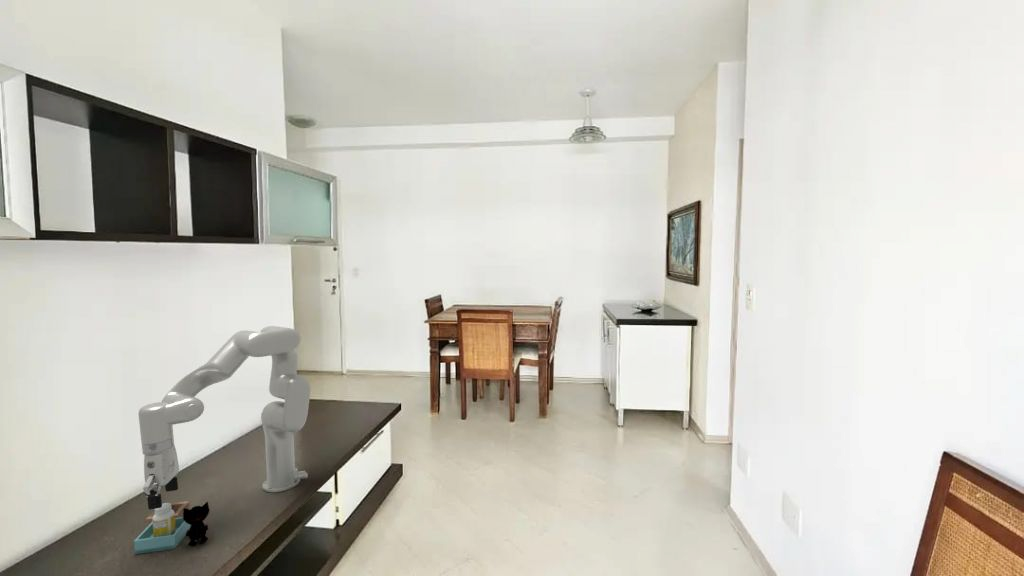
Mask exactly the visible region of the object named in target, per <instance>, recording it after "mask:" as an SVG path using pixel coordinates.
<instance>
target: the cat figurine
mask: <svg viewBox="0 0 1024 576" xmlns="http://www.w3.org/2000/svg"><path fill="white" fill-rule="evenodd" d="M209 506H210V505H209V502H208V501H206V502H205V503H204V504H203V505H202V506H201V505H195V506H193V507H191V508H190V510H189V509H185V508H184V509H183V519H184V521H185V522H186V523H188V524H190V525H191V526H190V529H189V530H187V531H186V535H185V537H188V539H189V542H188V544H187V546H188V547H196V546H197V545H198V543H199V545H204V544H205V543H206V542H207V541H208V539H209V538H208V536H206V535H207V531H208V530H209V529H210V528H209V527H210V526H209V525H208V524H205V523H204V521H205V520H206V519H207V517H208V515H209V514H210V507H209ZM197 541H199V542H197Z"/></svg>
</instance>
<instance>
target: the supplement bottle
mask: <svg viewBox="0 0 1024 576" xmlns="http://www.w3.org/2000/svg"><path fill="white" fill-rule="evenodd" d="M171 508H172V507H171V503H170V502H164V503H163V502H162V507H161V508H156V509H154V510H155V515H154V516H153V518H152V523H153V537H160V536H168V535H173V534H174V533H175V532H176V531H175V513H174V511H173V510H172V509H171Z"/></svg>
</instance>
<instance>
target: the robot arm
mask: <svg viewBox="0 0 1024 576" xmlns="http://www.w3.org/2000/svg"><path fill="white" fill-rule="evenodd" d="M300 343H301V335H300V333H299V332H298V331H297V330H296V329H293V328H290V327H284V326H276V325H274V326H273V325H272V326H271V325H269V326H266V327H264V328H262V329H260V331H253V330H239V331H237V332H235V333H234V334H233V335H231V337H230V338H229V339H228V340H227V341H226V342H225V343H224V344H223V345H222V346H221V347H220V348H219V349H218V351H216V353H215V354H213V356H212V357H211V358H210V359H208V361H207V362H206V363H204V364H203V365H201V366H199V367H198V368H196V369H194V370H193V371H191V372H190V373H189V374H187V375H185V376H184V377H183V378H181V379H180V380H179V381H178V382H177V383H176V384H175V385H174V386H173V387H172V388H171V389H170V390H169V391H168V392H167V393H166V395H165V396H164V397H163V398H162V400H161V401H160V402H152V403H149V404H146V405H144V406H142V407H140V408H139V410H138V412H137V413H138V423H139V431H140V432H139V433H140V442H141V450H142V455H144V456H143V458H144V459H143V473H144V474H143V475H144V477H143V478H144V485H143V487H142V490H143V492H144V495H145V497H146V498H147V506H148V510H155V509H156V508H161V507H162V504H163V501H162V493H160V492H161V487H165V488H164V489H165V490H164V491H165V492H174V491H178V489H179V483H178V473H179V471H180V465H179V464H180V463H179V459H178V454H177V452H178V451H177V449H176V447H175V446H176V445H175V438H174V427H173V426H174V425H178V424H185V423H189V422H193V421H195V420H196V419H198V418H200V417H201V416H202V415H203V413H204V411H205V403H204V402H203V401H202V400H201V399H199V398H198V397H196V396H197V395H198V394H199V393H200V392H202V391H203V390H204V389H206V388H208V387H210V386H212V385H215V384H218V383H221V382H223V381H226V380H228V379H230V378H231V377H232V376H233V375H234V374H235V372H237V371H238V369H239V368H240V367H241V366H242V365H243V363H244V362H245V361H247V359H248V358H249V357H253V358H262V357H269V356H271V371H270V379H269V387H268V391H269V393H270V395H271V396H273V397H274V398H277V399H280V400H284V401H279V400H278V401H277V400H276V401H275V400H274V401H270V402H269V403H267V404H266V405H265V406H264V407H263V409H262V412H261V416H260V417H261V418H260V419H261V420H260V421H261V425H262V428H263V429H262V430H263V432H264V433H263V434H264V443H265V445H264V447H265V462H266V463H265V468H266V480H265V481H264V482H263V483H262V490H263V491H264V492H267V493H281V492H284V491H288V490H290V489H292V488H294V487H296V486H297V485H298V484H299V483H300V482H301V479H307V478H308V472H306V470H301V471H299V470H298V467H296V464H295V463H296V460H295V458H296V457H295V437H294V433H295V432H298V431H300V430H301V429H302V428H303V427H304V426H305V423H306V421H307V419H308V414H309V406H310V405H309V404H310V397H311V384H310V382H309V379H307V378H306V377H305V376H302V375H300V374H298V373H297V370H298V355H297V354H298V353H297V350H296V349H297V348H298V347H299V345H300ZM154 488H155V489H154Z"/></svg>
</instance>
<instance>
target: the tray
mask: <svg viewBox="0 0 1024 576" xmlns="http://www.w3.org/2000/svg"><path fill="white" fill-rule="evenodd" d="M190 526H191V525H190V524H188V523H186V522H185V521H184V519H183V517H180V518H175V531H176V532H175V533H174V534H173V535H168V536H160V537H153V523H152V522H151V524H150V525H149V526H148V527H147V528H146V527H145V528H144V530H142V532H141V533H140V534H139V535H138V536H137V537H136V538H135V539H134V540H133V548H134V549H133V550H134V555H139V554H140V555H141V554H147V553H154V552H161V551H167V550H168V551H169V550H175V549H176V548H177V547H178V546H179V545H180V543H181V542H182V541H183V540H184V539H185V537H186V531H187V530H189V529H190Z"/></svg>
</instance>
